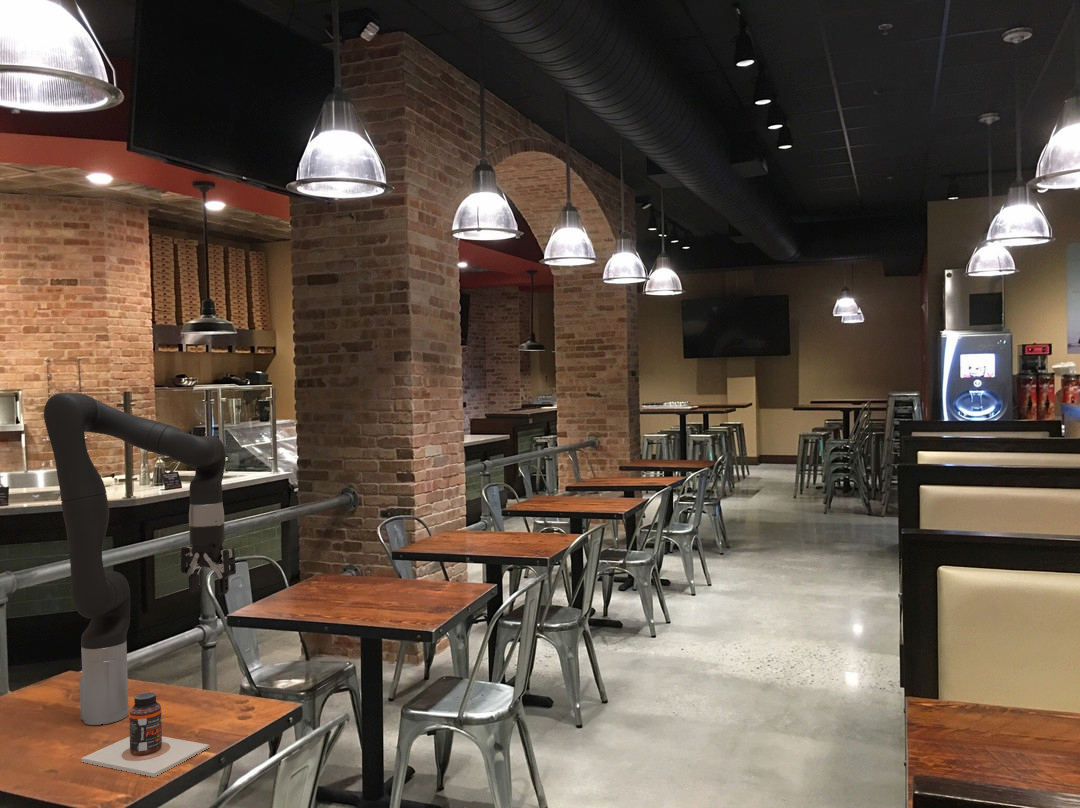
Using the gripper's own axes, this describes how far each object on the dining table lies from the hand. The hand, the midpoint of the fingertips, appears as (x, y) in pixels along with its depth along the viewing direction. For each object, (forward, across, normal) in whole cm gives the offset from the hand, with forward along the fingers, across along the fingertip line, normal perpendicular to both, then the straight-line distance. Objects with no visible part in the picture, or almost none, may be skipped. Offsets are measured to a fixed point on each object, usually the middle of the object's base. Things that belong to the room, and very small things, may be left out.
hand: (208, 592), depth 193 cm
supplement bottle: (+27, +4, -22) cm, 35 cm away
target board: (+28, +4, -22) cm, 36 cm away
